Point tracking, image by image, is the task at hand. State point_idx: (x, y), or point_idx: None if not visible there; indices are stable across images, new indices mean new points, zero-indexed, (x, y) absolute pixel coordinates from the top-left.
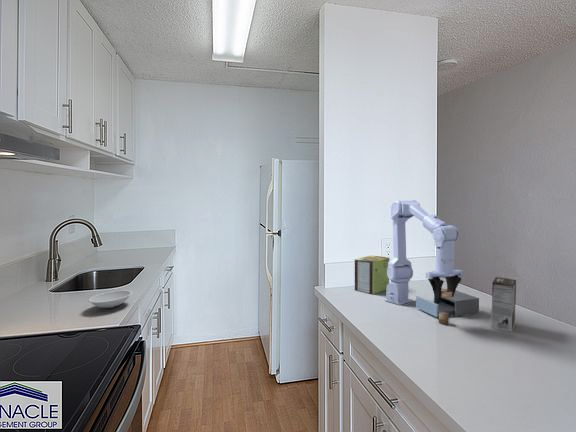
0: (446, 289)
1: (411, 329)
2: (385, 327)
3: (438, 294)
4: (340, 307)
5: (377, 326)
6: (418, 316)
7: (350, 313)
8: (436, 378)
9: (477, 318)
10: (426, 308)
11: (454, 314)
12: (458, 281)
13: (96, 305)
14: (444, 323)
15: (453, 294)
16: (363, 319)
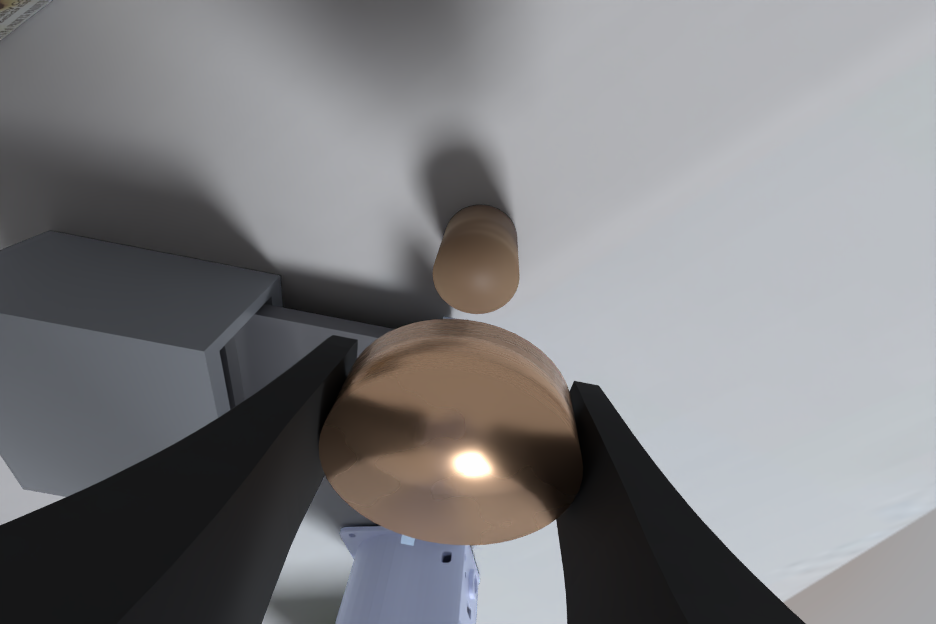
0: (360, 481)
1: (811, 281)
2: (902, 384)
3: (629, 435)
4: None
5: (918, 415)
6: None
7: (800, 564)
8: None
9: (130, 167)
10: None
11: (275, 293)
12: (30, 564)
13: None
14: (507, 218)
15: (326, 354)
16: (846, 502)
